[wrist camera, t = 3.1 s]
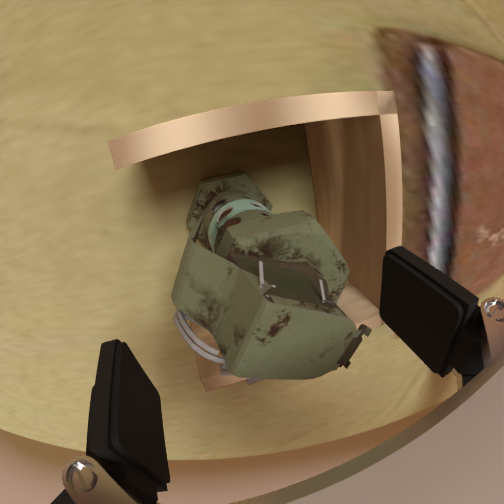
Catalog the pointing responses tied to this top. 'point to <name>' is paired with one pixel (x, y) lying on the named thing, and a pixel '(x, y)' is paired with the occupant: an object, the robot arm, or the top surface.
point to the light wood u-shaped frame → (324, 181)
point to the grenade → (262, 286)
